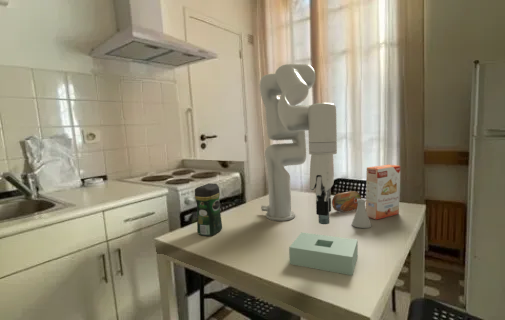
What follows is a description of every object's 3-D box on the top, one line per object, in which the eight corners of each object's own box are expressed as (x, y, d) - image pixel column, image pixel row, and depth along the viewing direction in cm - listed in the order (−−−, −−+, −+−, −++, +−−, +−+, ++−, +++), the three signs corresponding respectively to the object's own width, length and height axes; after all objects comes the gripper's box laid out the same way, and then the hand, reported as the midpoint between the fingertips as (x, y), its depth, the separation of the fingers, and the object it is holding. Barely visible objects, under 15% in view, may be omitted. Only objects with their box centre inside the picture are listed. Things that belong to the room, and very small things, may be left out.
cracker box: (377, 220, 113) (377, 168, 111) (365, 216, 118) (365, 167, 116) (400, 214, 119) (401, 165, 117) (387, 210, 125) (388, 163, 122)
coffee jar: (208, 226, 115) (205, 181, 113) (225, 228, 111) (222, 182, 109) (193, 235, 106) (190, 186, 104) (211, 238, 103) (208, 187, 101)
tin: (335, 214, 124) (335, 195, 123) (330, 212, 127) (330, 193, 126) (361, 208, 130) (361, 190, 129) (356, 207, 133) (356, 189, 132)
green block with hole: (289, 263, 81) (289, 247, 80) (301, 247, 92) (301, 232, 91) (352, 275, 73) (352, 257, 73) (357, 255, 84) (357, 239, 84)
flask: (373, 229, 105) (373, 202, 103) (352, 228, 106) (352, 202, 105) (369, 222, 112) (369, 197, 110) (350, 222, 113) (349, 197, 112)
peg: (317, 223, 80) (316, 189, 79) (319, 220, 83) (319, 186, 82) (328, 224, 79) (327, 189, 78) (330, 221, 82) (329, 187, 81)
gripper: (316, 146, 88) (317, 204, 90) (300, 151, 73) (302, 220, 75) (341, 146, 84) (342, 206, 86) (330, 151, 70) (331, 223, 72)
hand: (323, 212), depth 81 cm, fingers closed on peg, 3 cm apart
